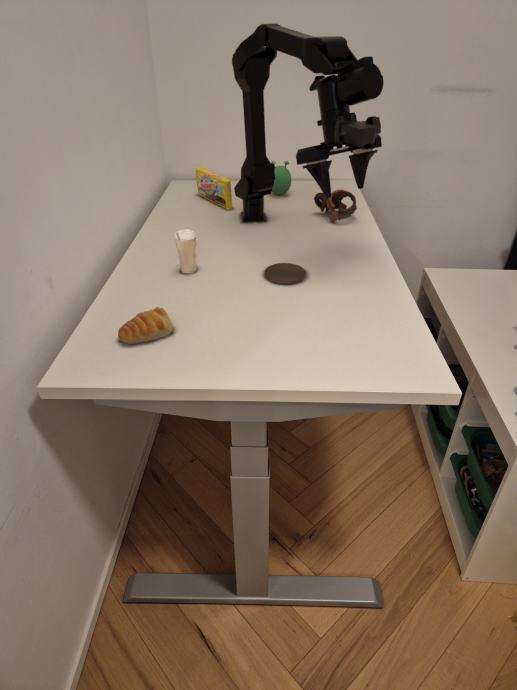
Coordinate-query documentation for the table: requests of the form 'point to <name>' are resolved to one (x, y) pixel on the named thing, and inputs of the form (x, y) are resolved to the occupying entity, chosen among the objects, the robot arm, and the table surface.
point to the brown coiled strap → (336, 204)
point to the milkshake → (186, 250)
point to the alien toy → (281, 179)
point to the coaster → (285, 273)
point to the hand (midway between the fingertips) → (345, 193)
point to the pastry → (146, 327)
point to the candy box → (214, 187)
